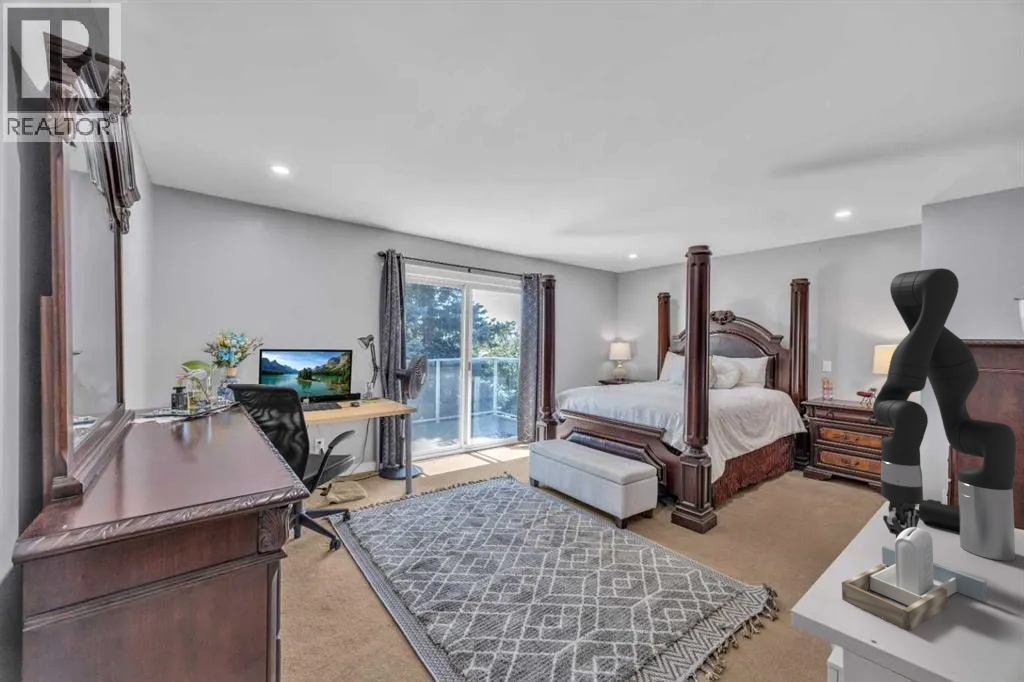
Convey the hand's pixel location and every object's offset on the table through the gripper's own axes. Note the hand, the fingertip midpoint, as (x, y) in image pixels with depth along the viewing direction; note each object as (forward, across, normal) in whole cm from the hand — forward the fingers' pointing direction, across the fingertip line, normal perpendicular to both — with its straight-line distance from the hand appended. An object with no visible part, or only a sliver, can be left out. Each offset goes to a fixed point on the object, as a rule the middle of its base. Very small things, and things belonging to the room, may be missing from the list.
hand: (903, 550), depth 103 cm
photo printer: (+2, -14, -7) cm, 16 cm away
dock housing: (+3, -21, -7) cm, 23 cm away
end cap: (+3, +33, +4) cm, 34 cm away
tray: (+3, -14, -7) cm, 16 cm away
